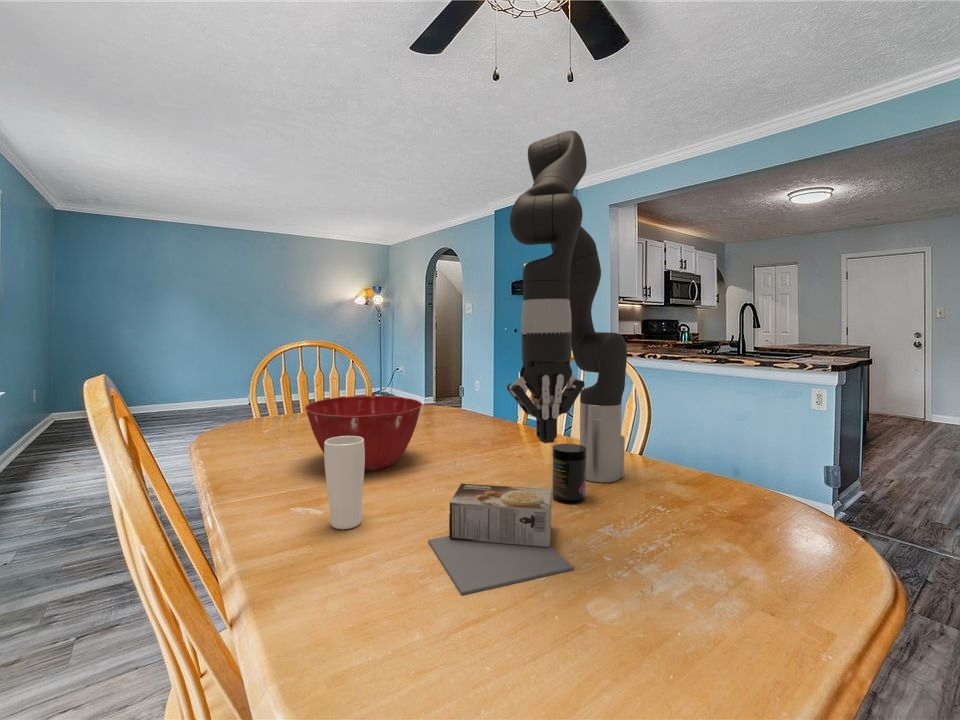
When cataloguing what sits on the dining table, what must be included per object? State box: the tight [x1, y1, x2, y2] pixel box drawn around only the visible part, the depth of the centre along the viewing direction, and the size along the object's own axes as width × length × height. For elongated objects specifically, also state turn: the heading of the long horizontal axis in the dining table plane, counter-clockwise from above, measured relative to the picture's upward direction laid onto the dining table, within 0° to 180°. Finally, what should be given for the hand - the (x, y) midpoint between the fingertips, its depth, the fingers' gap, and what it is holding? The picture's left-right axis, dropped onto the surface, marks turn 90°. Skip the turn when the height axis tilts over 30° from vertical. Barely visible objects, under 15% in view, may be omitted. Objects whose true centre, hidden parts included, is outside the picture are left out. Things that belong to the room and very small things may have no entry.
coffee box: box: [448, 483, 553, 547], centre depth 77 cm, size 9×6×16 cm
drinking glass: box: [323, 436, 365, 530], centre depth 81 cm, size 7×7×15 cm
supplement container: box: [551, 443, 587, 505], centre depth 93 cm, size 7×7×10 cm
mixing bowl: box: [304, 395, 423, 473], centre depth 117 cm, size 28×28×15 cm
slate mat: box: [427, 535, 575, 596], centre depth 70 cm, size 17×16×1 cm
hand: (546, 441), depth 72 cm, fingers closed
